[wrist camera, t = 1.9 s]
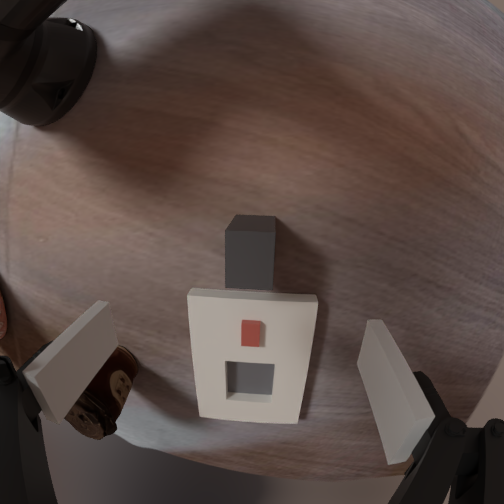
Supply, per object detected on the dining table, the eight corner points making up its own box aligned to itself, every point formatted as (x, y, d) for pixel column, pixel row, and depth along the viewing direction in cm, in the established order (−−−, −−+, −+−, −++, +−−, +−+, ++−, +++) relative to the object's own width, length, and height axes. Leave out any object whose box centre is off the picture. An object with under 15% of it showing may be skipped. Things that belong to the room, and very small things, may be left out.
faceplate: (191, 287, 33) (185, 298, 30) (315, 294, 32) (319, 306, 30) (202, 407, 39) (198, 420, 36) (296, 413, 38) (297, 427, 36)
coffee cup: (147, 348, 36) (106, 415, 24) (147, 389, 39) (115, 452, 27) (93, 329, 36) (43, 384, 24) (98, 371, 39) (59, 425, 27)
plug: (236, 214, 30) (225, 230, 24) (275, 216, 30) (275, 232, 23) (235, 260, 32) (225, 287, 25) (272, 262, 32) (272, 290, 25)
